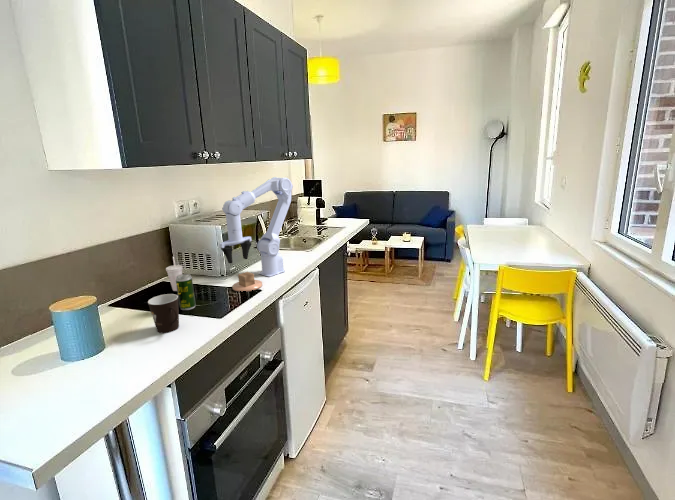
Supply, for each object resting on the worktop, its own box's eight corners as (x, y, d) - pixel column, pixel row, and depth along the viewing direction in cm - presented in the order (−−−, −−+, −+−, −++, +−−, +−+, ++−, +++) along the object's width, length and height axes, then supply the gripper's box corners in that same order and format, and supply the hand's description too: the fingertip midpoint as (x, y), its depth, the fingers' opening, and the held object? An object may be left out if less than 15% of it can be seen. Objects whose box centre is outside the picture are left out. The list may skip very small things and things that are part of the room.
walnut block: (248, 281, 153) (247, 271, 152) (254, 283, 150) (253, 273, 149) (239, 284, 150) (238, 274, 149) (245, 287, 147) (244, 276, 146)
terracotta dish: (250, 280, 158) (250, 277, 158) (268, 285, 151) (268, 283, 151) (226, 288, 150) (226, 285, 149) (244, 294, 142) (244, 291, 142)
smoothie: (188, 286, 153) (184, 254, 150) (181, 292, 147) (175, 259, 143) (174, 286, 154) (169, 254, 150) (166, 292, 148) (160, 259, 144)
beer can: (183, 305, 134) (178, 274, 131) (198, 304, 134) (193, 273, 131) (177, 311, 129) (172, 279, 126) (193, 310, 129) (188, 278, 126)
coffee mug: (153, 325, 118) (148, 297, 115) (182, 320, 121) (178, 292, 118) (151, 341, 107) (146, 310, 105) (183, 335, 111) (178, 304, 108)
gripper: (243, 225, 159) (246, 255, 162) (213, 231, 148) (217, 263, 152) (253, 227, 154) (256, 257, 158) (223, 233, 144) (227, 266, 147)
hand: (238, 260), depth 154 cm, fingers open, 7 cm apart
